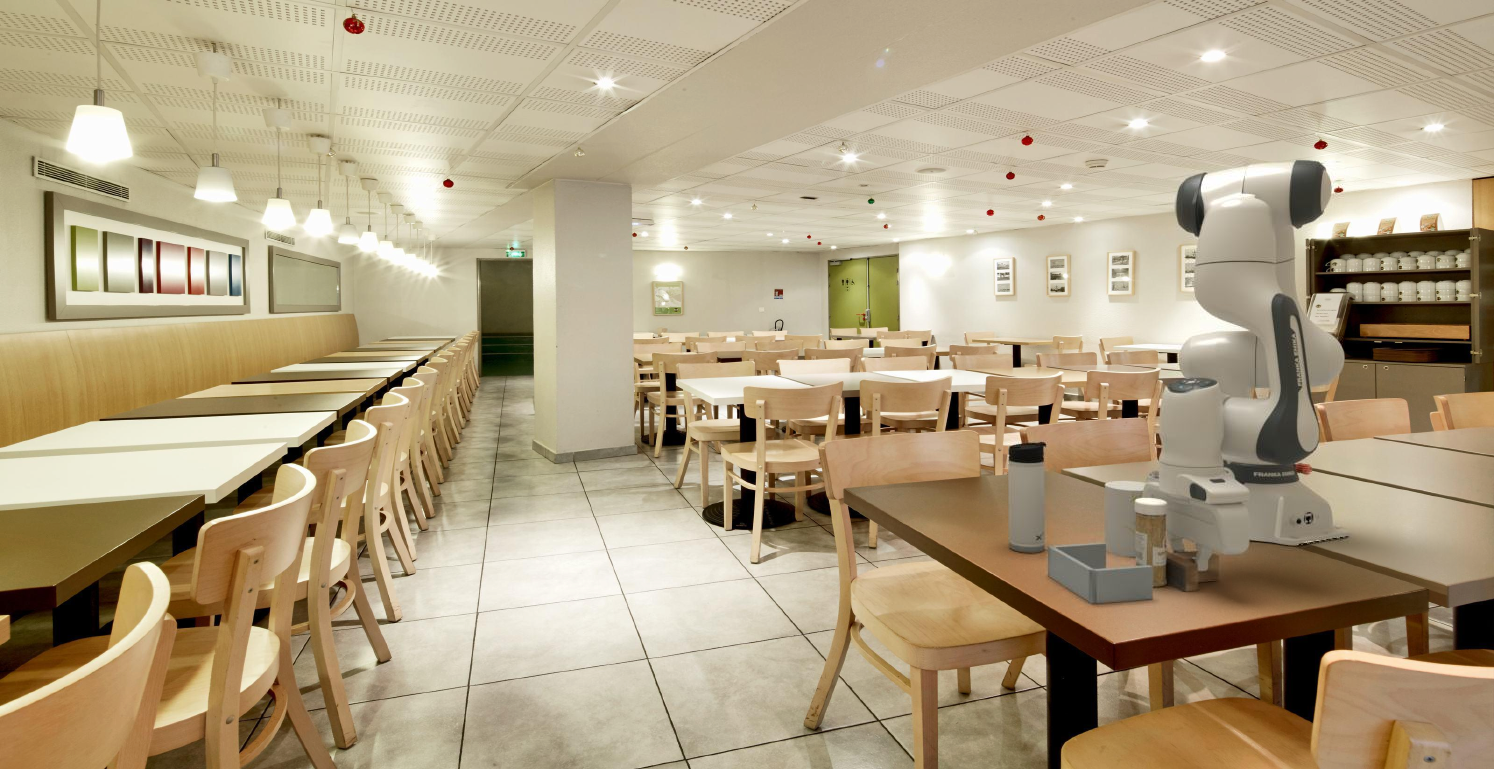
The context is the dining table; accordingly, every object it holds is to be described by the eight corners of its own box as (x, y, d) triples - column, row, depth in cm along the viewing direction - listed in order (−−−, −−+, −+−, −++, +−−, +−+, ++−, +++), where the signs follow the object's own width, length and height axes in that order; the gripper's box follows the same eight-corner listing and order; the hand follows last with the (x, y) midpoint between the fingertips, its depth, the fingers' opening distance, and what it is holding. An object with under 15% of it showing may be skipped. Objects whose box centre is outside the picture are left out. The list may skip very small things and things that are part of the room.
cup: (1135, 559, 129) (1136, 492, 129) (1095, 548, 137) (1095, 484, 136) (1164, 551, 133) (1165, 486, 132) (1123, 541, 140) (1123, 479, 139)
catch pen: (1103, 571, 124) (1103, 542, 124) (1152, 598, 112) (1153, 566, 111) (1047, 575, 123) (1047, 546, 123) (1091, 603, 111) (1091, 571, 110)
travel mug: (1049, 553, 134) (1049, 445, 133) (1011, 552, 136) (1010, 445, 134) (1043, 543, 140) (1042, 439, 139) (1006, 542, 142) (1005, 439, 140)
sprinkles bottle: (1169, 588, 115) (1169, 504, 114) (1136, 585, 117) (1136, 502, 116) (1164, 578, 120) (1164, 497, 119) (1132, 576, 121) (1133, 496, 120)
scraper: (1192, 567, 124) (1192, 544, 123) (1233, 586, 115) (1233, 561, 115) (1145, 572, 123) (1145, 548, 123) (1183, 591, 114) (1183, 566, 114)
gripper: (1131, 469, 128) (1130, 547, 129) (1219, 495, 107) (1218, 588, 108) (1164, 467, 128) (1164, 544, 129) (1259, 493, 108) (1257, 584, 109)
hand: (1189, 565), depth 119 cm, fingers closed on scraper, 3 cm apart
